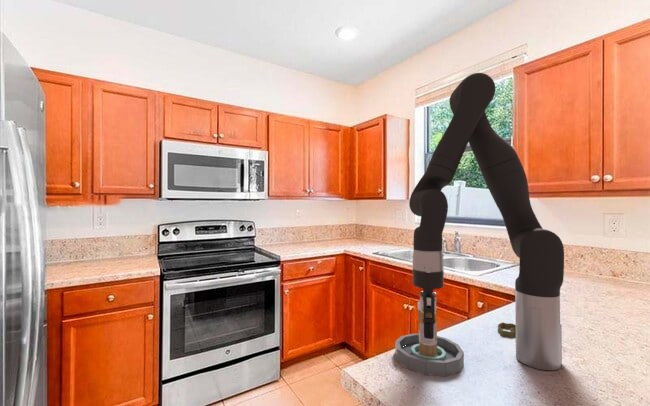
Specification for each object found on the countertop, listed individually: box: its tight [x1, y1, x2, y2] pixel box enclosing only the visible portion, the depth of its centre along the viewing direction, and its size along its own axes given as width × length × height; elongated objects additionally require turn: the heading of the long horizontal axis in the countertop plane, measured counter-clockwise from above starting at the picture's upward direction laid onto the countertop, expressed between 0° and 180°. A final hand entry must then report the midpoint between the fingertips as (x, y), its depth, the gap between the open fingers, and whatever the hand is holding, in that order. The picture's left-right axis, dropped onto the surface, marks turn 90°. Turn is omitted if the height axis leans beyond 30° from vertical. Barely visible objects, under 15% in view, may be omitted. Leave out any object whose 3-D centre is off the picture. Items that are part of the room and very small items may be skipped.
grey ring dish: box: [394, 333, 465, 377], centre depth 78 cm, size 16×16×3 cm
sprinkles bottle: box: [417, 300, 438, 357], centre depth 78 cm, size 5×5×14 cm
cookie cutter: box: [497, 322, 516, 338], centre depth 95 cm, size 18×12×2 cm, turn 123°
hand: (428, 331), depth 79 cm, fingers open, 8 cm apart
